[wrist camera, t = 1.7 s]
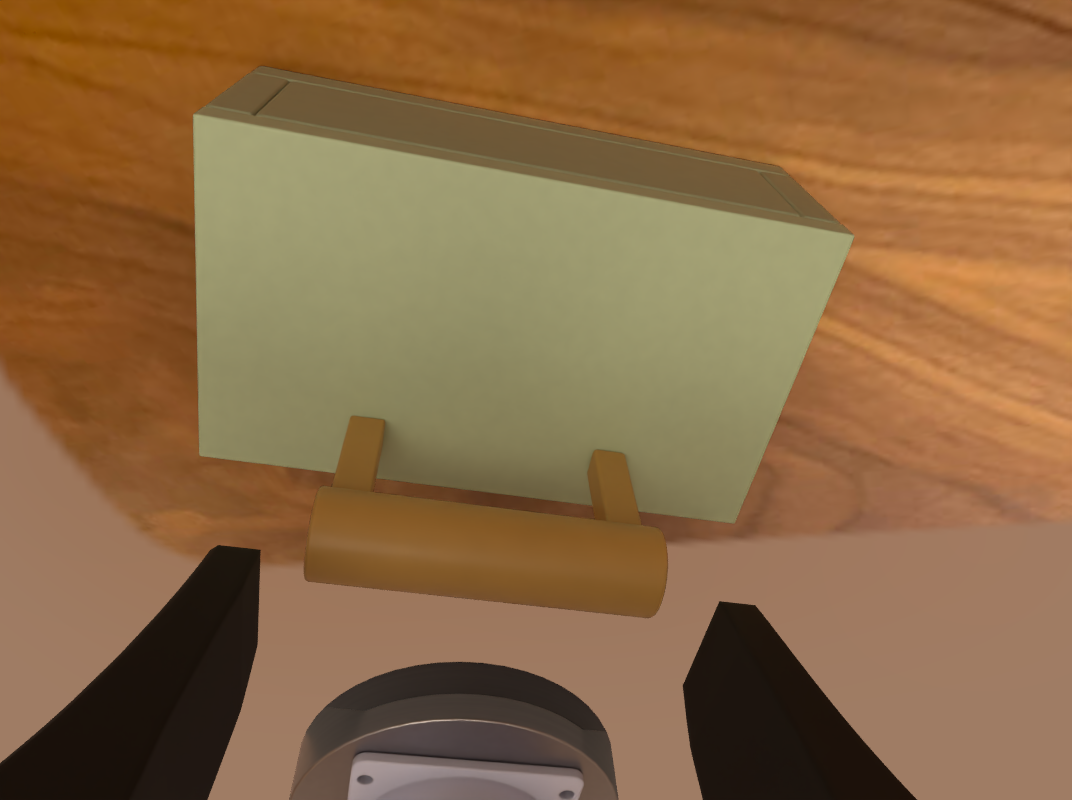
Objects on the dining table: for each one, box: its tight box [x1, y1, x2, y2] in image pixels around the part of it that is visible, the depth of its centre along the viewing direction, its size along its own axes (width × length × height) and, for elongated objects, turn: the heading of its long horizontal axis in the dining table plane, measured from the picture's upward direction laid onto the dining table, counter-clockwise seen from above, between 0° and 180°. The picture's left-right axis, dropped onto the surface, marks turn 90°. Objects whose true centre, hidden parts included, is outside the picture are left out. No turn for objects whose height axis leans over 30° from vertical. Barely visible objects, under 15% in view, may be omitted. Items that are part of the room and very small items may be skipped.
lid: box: [193, 107, 854, 618], centre depth 14 cm, size 7×12×5 cm, turn 79°
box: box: [206, 66, 840, 224], centre depth 18 cm, size 6×12×4 cm, turn 79°
